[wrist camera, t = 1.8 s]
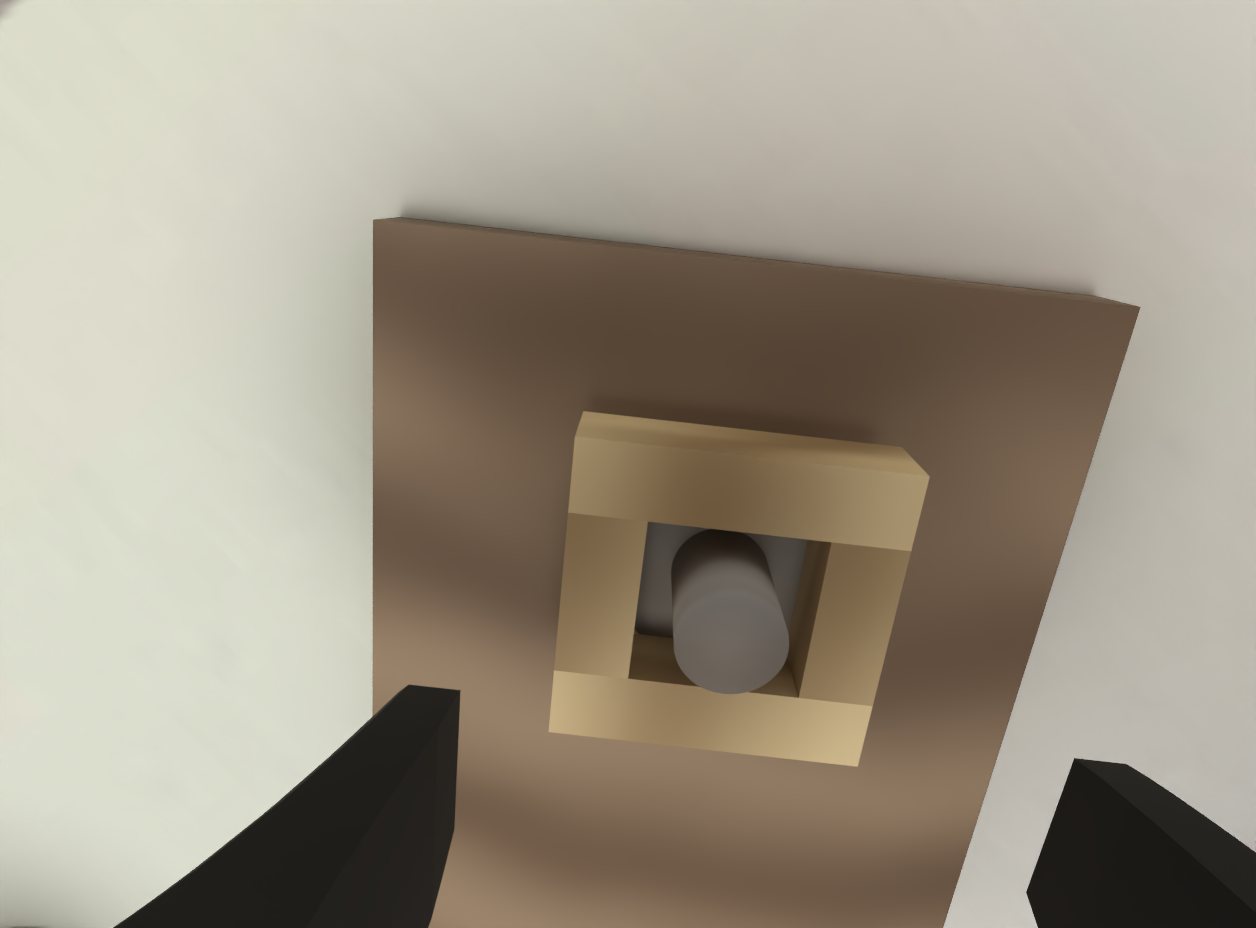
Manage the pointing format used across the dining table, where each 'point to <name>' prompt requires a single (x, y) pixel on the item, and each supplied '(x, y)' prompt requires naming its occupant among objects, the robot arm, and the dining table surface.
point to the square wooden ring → (743, 502)
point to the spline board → (729, 369)
